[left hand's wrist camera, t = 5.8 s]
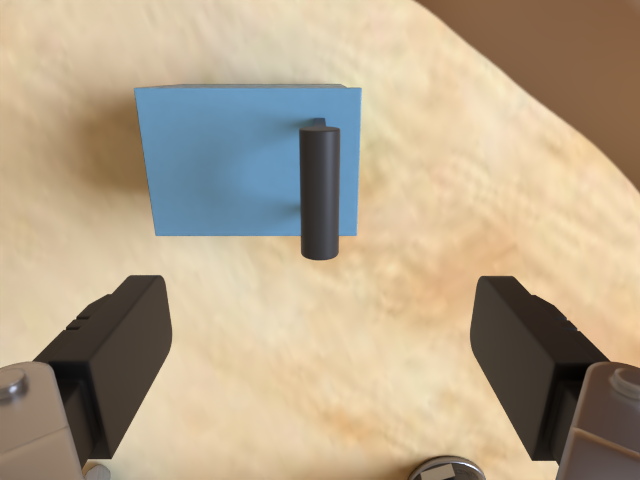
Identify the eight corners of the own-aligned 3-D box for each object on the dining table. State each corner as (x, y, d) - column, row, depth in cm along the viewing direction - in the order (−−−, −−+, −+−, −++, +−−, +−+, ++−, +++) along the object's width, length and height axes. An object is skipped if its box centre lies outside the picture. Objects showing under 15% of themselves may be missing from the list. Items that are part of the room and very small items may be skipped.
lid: (360, 87, 27) (378, 93, 19) (355, 231, 30) (369, 289, 22) (139, 87, 27) (61, 93, 19) (160, 231, 30) (101, 289, 22)
